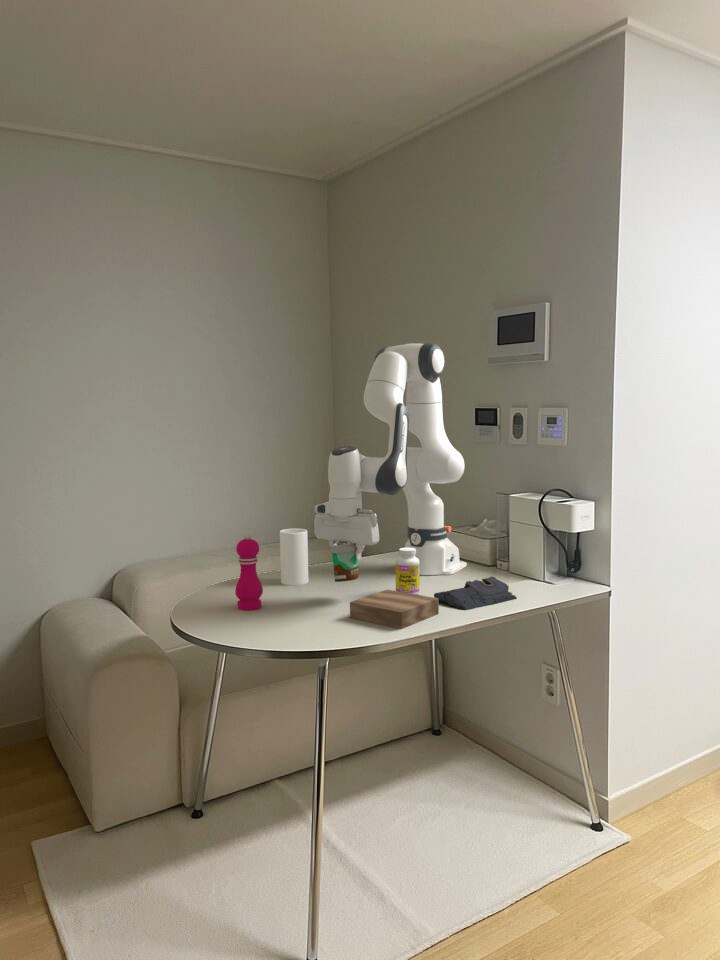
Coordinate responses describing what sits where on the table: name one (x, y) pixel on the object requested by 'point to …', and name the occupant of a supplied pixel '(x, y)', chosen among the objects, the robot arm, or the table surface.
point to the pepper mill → (248, 575)
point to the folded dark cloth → (477, 594)
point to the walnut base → (394, 608)
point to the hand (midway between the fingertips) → (347, 557)
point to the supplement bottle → (407, 571)
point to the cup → (294, 556)
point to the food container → (345, 562)
